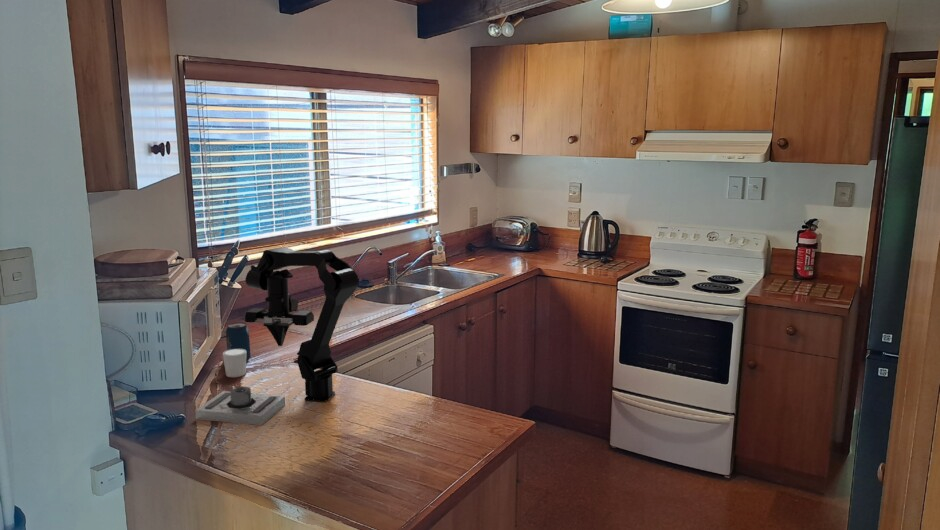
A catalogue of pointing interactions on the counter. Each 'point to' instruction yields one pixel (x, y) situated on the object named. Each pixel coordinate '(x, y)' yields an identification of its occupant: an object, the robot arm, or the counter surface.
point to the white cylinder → (235, 362)
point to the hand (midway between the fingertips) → (280, 345)
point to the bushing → (241, 397)
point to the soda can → (238, 337)
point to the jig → (254, 414)
